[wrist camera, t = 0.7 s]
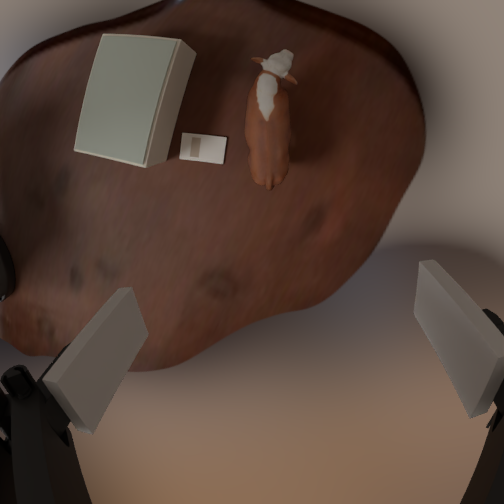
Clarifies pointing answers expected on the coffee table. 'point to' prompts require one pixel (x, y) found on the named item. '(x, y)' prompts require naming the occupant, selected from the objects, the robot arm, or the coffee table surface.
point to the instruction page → (203, 148)
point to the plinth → (134, 98)
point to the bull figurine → (269, 121)
